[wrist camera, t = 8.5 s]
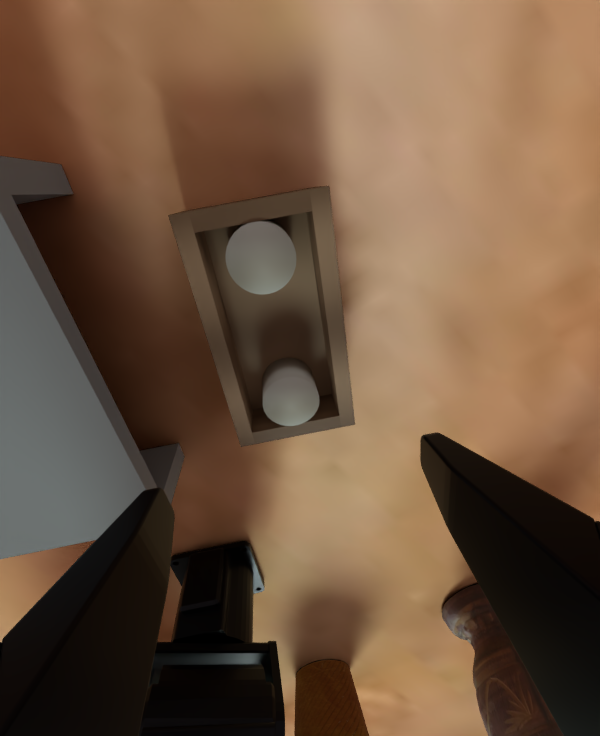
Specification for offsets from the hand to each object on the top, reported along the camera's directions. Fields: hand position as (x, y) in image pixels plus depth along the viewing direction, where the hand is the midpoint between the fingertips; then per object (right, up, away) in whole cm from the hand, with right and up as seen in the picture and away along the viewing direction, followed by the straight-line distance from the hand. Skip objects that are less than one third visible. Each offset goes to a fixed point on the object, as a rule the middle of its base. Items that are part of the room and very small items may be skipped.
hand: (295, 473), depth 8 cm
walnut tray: (-1, +6, +11) cm, 13 cm away
